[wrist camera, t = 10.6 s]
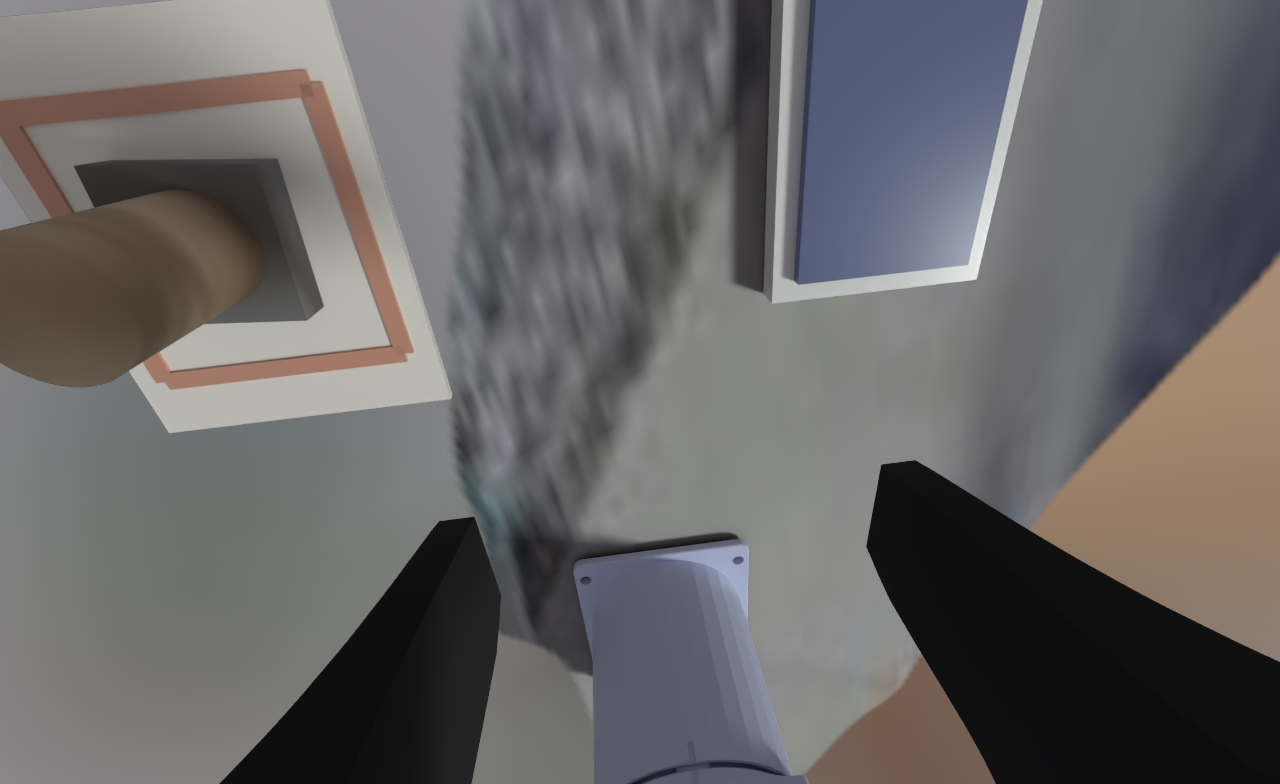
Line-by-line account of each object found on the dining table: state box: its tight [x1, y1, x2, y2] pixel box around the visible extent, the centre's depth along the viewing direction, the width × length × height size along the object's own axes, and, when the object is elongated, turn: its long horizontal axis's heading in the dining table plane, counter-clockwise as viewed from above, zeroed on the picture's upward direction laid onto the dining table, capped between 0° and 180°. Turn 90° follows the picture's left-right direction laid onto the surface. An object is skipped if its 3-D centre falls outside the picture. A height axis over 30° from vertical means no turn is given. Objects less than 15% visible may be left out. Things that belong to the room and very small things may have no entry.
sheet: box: [0, 0, 453, 433], centre depth 16 cm, size 12×10×1 cm
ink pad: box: [763, 0, 1043, 304], centre depth 16 cm, size 9×7×1 cm
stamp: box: [0, 158, 324, 387], centre depth 13 cm, size 4×4×6 cm
